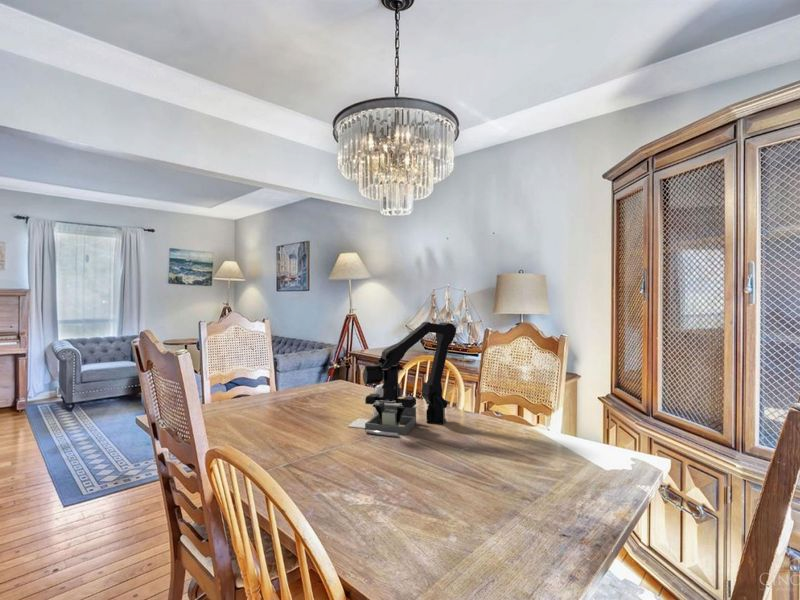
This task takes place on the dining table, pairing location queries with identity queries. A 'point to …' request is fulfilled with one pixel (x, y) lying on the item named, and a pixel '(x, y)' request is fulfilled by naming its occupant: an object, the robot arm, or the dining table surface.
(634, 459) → the dining table surface
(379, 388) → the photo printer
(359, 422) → the pad
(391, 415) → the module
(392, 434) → the rod
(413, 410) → the case lid open
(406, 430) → the case base
